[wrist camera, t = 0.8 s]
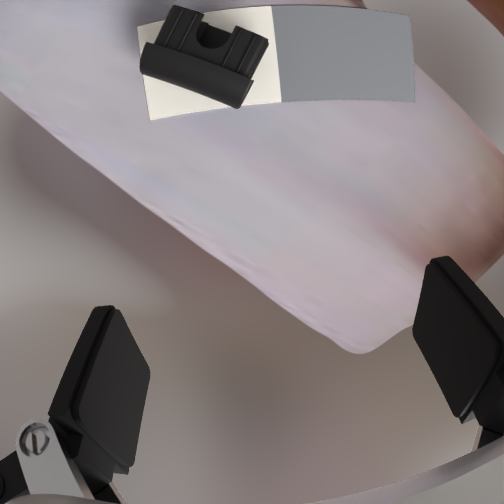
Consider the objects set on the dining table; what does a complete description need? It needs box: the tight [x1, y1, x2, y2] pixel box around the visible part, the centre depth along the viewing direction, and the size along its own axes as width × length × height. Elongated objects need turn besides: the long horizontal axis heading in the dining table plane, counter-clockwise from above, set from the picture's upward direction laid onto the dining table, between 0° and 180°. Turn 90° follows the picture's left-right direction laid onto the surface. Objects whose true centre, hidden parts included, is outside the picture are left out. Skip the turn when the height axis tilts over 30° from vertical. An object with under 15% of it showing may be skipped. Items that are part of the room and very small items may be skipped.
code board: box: [137, 6, 282, 120], centre depth 28 cm, size 11×14×1 cm
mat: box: [271, 5, 415, 102], centre depth 28 cm, size 11×16×1 cm
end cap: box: [140, 5, 269, 109], centre depth 25 cm, size 10×7×7 cm
